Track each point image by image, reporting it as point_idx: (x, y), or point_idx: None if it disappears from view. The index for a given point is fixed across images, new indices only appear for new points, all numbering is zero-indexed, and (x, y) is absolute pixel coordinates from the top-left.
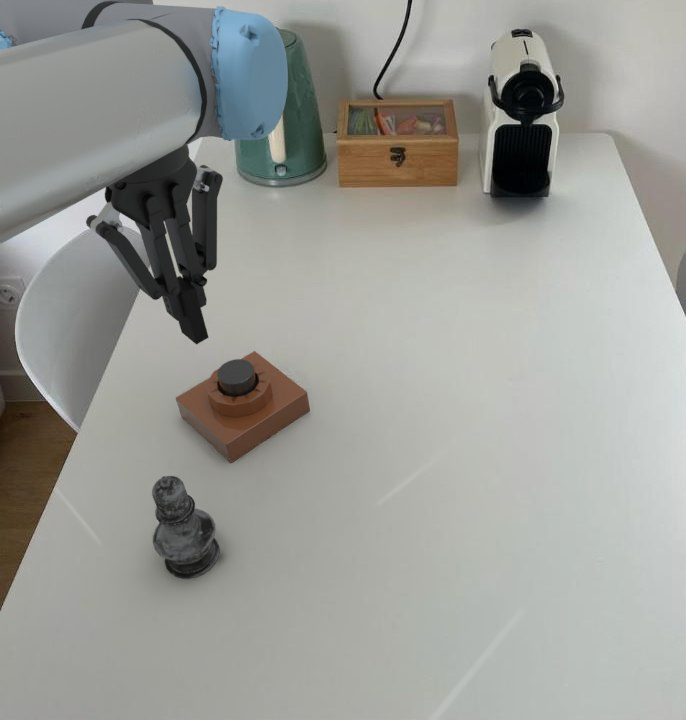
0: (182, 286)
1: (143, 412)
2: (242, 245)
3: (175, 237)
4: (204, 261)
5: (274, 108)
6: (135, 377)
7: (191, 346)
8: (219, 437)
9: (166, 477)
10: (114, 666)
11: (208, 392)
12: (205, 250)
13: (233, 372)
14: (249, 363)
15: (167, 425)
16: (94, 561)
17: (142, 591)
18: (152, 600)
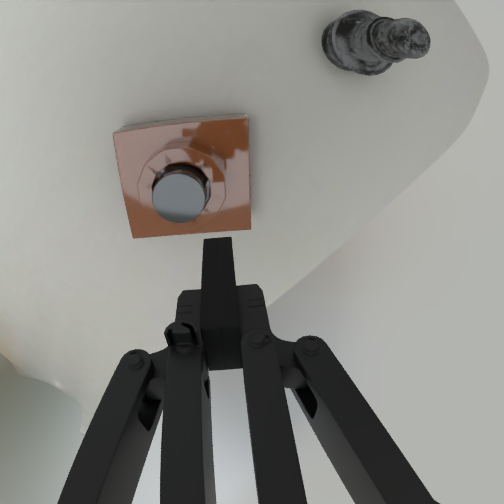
0: (223, 345)
1: (275, 244)
2: (93, 363)
3: (209, 477)
4: (148, 378)
5: None
6: None
7: None
8: (247, 134)
9: (420, 37)
10: (443, 24)
11: (223, 199)
12: (135, 405)
13: (182, 198)
14: (154, 200)
15: (267, 212)
16: (410, 114)
17: None
18: None
